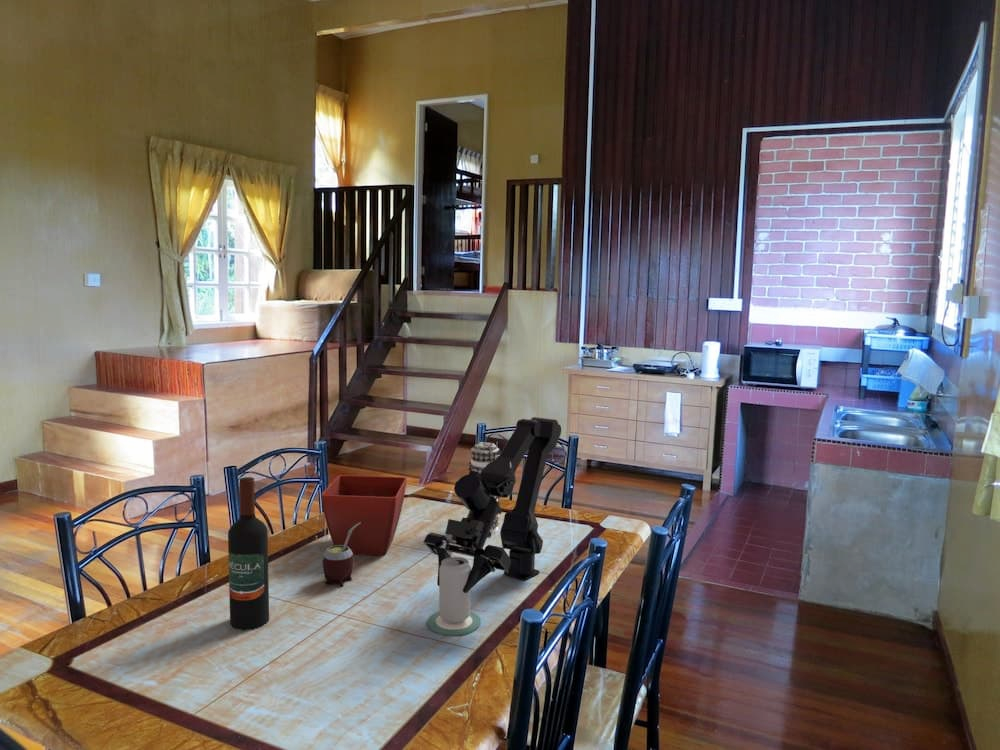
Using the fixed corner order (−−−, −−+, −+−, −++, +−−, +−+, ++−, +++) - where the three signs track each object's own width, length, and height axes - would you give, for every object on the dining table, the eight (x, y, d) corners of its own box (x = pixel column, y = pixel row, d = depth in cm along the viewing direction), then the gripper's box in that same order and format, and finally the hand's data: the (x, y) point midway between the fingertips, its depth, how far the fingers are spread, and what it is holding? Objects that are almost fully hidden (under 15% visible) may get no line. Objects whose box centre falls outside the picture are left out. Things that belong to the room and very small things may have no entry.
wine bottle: (276, 616, 149) (274, 476, 146) (253, 632, 142) (250, 485, 139) (246, 610, 152) (243, 472, 148) (221, 626, 145) (218, 481, 141)
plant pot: (395, 561, 181) (396, 496, 179) (320, 559, 181) (319, 494, 179) (407, 535, 200) (407, 476, 198) (338, 533, 200) (338, 475, 198)
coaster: (452, 606, 156) (452, 604, 156) (491, 621, 149) (491, 619, 149) (416, 624, 147) (416, 621, 147) (456, 641, 141) (456, 638, 141)
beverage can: (473, 622, 146) (474, 565, 145) (443, 626, 144) (443, 569, 143) (465, 608, 152) (466, 554, 151) (435, 612, 150) (436, 557, 149)
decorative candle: (462, 525, 209) (463, 441, 206) (491, 522, 213) (493, 439, 210) (474, 535, 201) (476, 448, 198) (504, 531, 205) (506, 446, 202)
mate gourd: (319, 578, 169) (319, 517, 167) (352, 573, 173) (352, 513, 171) (327, 590, 163) (327, 526, 161) (361, 584, 166) (361, 522, 164)
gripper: (428, 495, 153) (397, 562, 145) (505, 510, 144) (477, 582, 136) (448, 521, 161) (419, 585, 153) (522, 536, 152) (496, 605, 144)
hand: (451, 589), depth 146 cm, fingers closed on beverage can, 6 cm apart
